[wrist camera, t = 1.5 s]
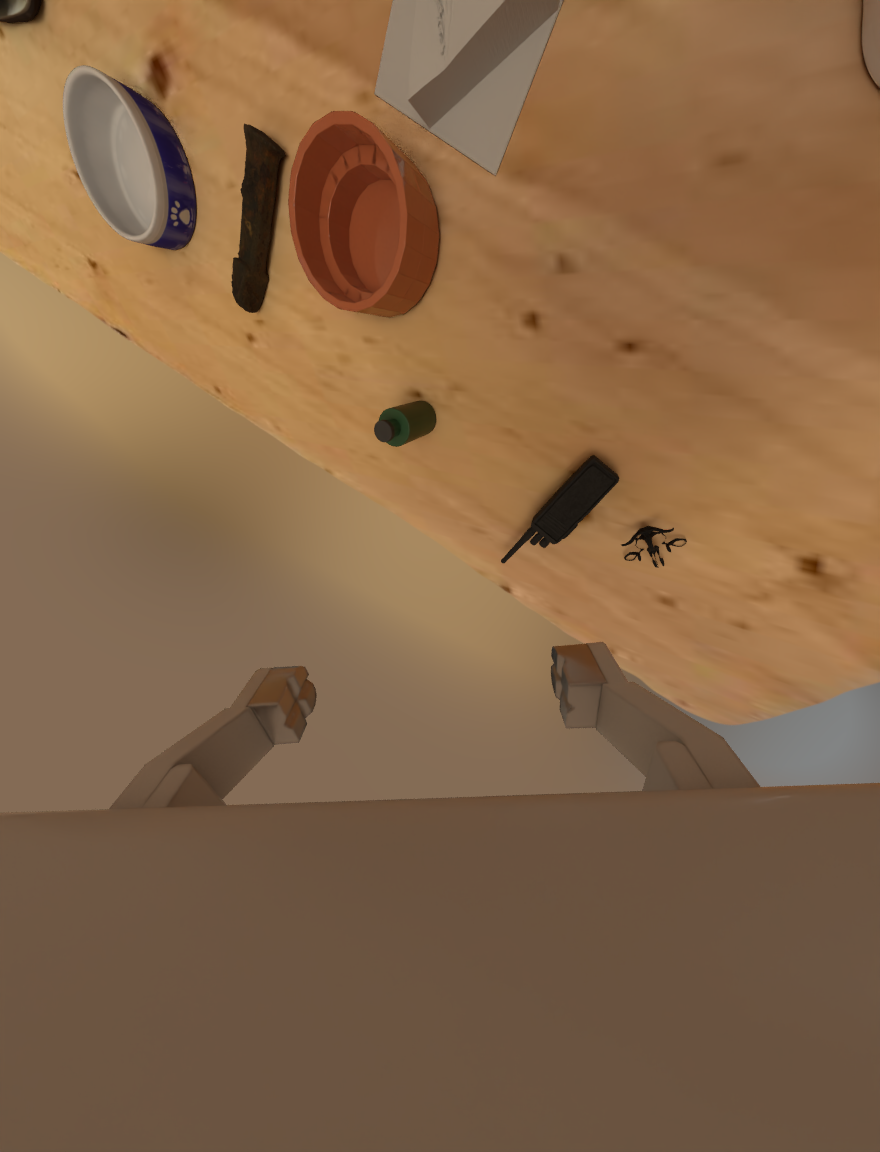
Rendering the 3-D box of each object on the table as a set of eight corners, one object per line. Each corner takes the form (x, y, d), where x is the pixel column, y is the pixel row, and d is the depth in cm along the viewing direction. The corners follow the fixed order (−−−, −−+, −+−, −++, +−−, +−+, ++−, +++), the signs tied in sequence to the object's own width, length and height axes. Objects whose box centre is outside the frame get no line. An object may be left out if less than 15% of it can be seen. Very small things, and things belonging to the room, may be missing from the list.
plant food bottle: (409, 397, 51) (366, 407, 42) (438, 404, 50) (400, 415, 41) (407, 430, 54) (366, 446, 45) (434, 437, 53) (398, 455, 44)
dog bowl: (110, 59, 44) (50, 24, 39) (203, 148, 45) (156, 124, 40) (117, 205, 53) (70, 191, 49) (193, 275, 54) (155, 268, 50)
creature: (689, 550, 48) (674, 507, 44) (700, 575, 44) (684, 531, 40) (629, 566, 52) (611, 529, 49) (634, 591, 49) (615, 552, 45)
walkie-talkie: (632, 487, 44) (529, 583, 55) (604, 460, 47) (512, 556, 58) (609, 473, 40) (503, 579, 51) (580, 445, 43) (487, 550, 55)
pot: (336, 152, 39) (279, 110, 33) (450, 157, 36) (412, 111, 29) (341, 309, 48) (297, 301, 41) (433, 325, 45) (401, 319, 38)
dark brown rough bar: (265, 131, 41) (232, 110, 37) (291, 153, 41) (260, 134, 38) (245, 301, 53) (219, 297, 50) (265, 317, 53) (240, 315, 50)
